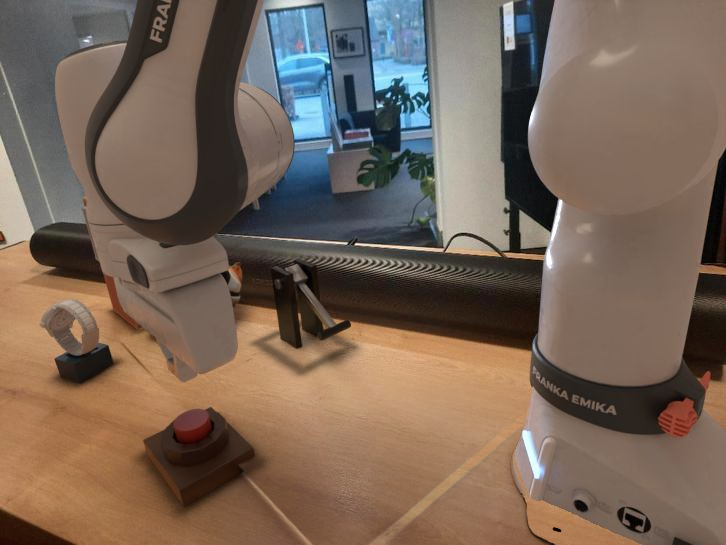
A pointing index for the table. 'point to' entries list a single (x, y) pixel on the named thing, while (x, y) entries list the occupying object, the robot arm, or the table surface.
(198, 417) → the button
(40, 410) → the table surface
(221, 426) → the button box
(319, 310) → the lever
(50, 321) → the watch
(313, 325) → the bracket
